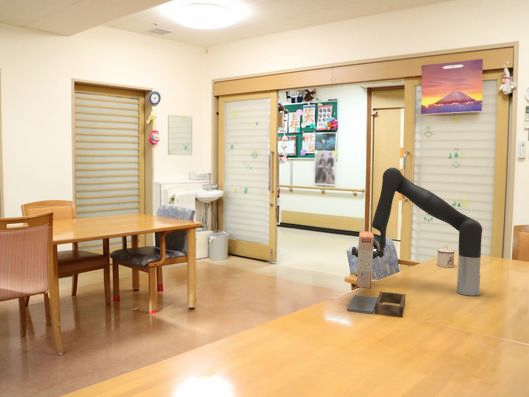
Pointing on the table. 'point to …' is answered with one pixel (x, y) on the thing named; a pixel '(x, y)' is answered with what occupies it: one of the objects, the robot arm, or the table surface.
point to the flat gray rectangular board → (362, 304)
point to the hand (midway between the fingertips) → (365, 255)
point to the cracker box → (365, 259)
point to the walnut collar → (387, 308)
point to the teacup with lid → (445, 257)
